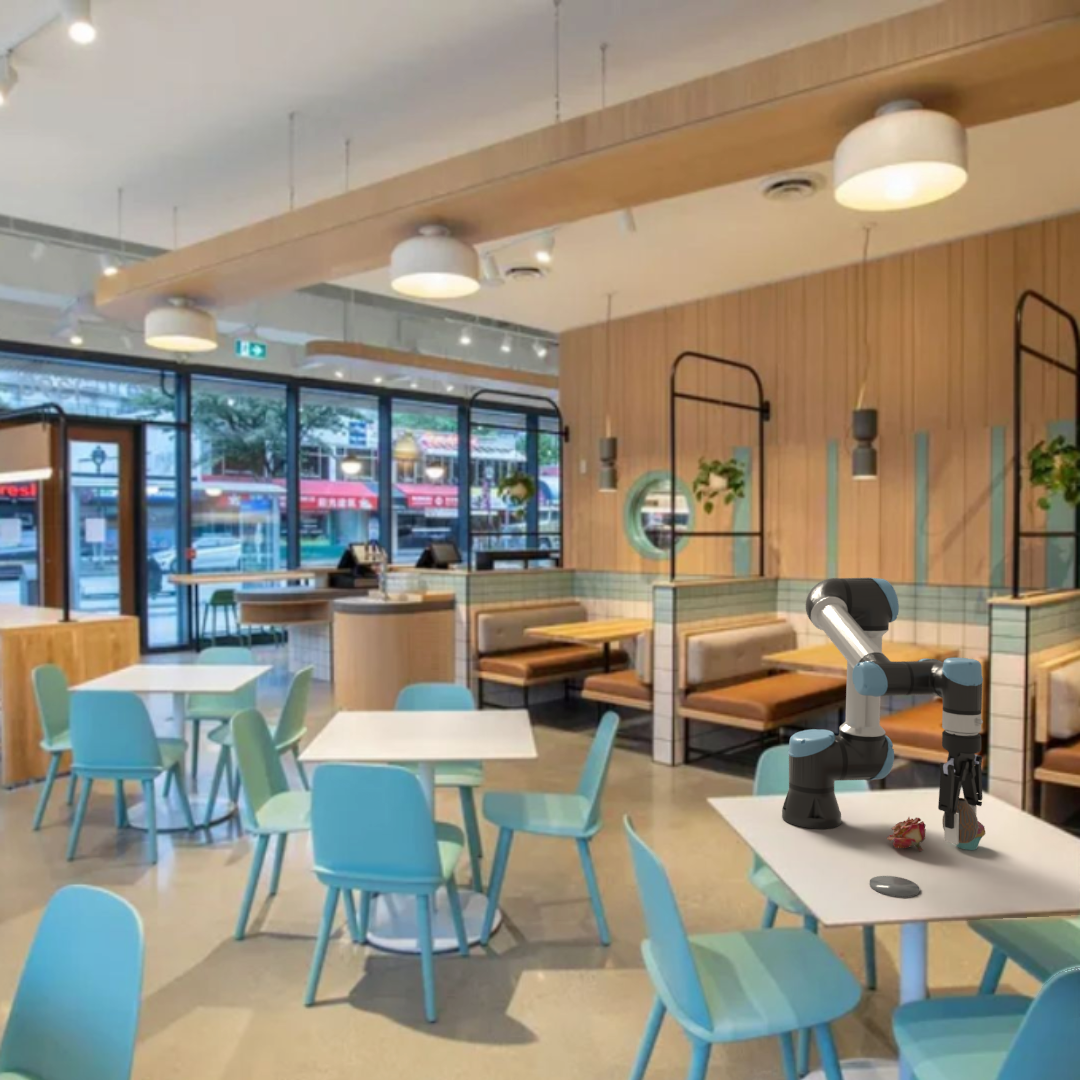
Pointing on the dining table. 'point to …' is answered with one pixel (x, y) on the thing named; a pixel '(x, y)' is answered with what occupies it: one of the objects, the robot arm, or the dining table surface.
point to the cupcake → (975, 841)
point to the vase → (966, 821)
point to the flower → (908, 833)
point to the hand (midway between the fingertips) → (960, 838)
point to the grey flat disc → (894, 886)
